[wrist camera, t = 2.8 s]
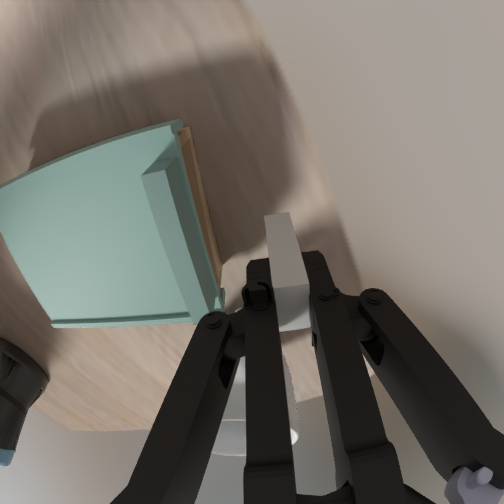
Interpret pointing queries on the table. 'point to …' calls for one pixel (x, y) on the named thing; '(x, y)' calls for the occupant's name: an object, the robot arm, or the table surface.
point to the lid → (112, 234)
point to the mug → (234, 416)
